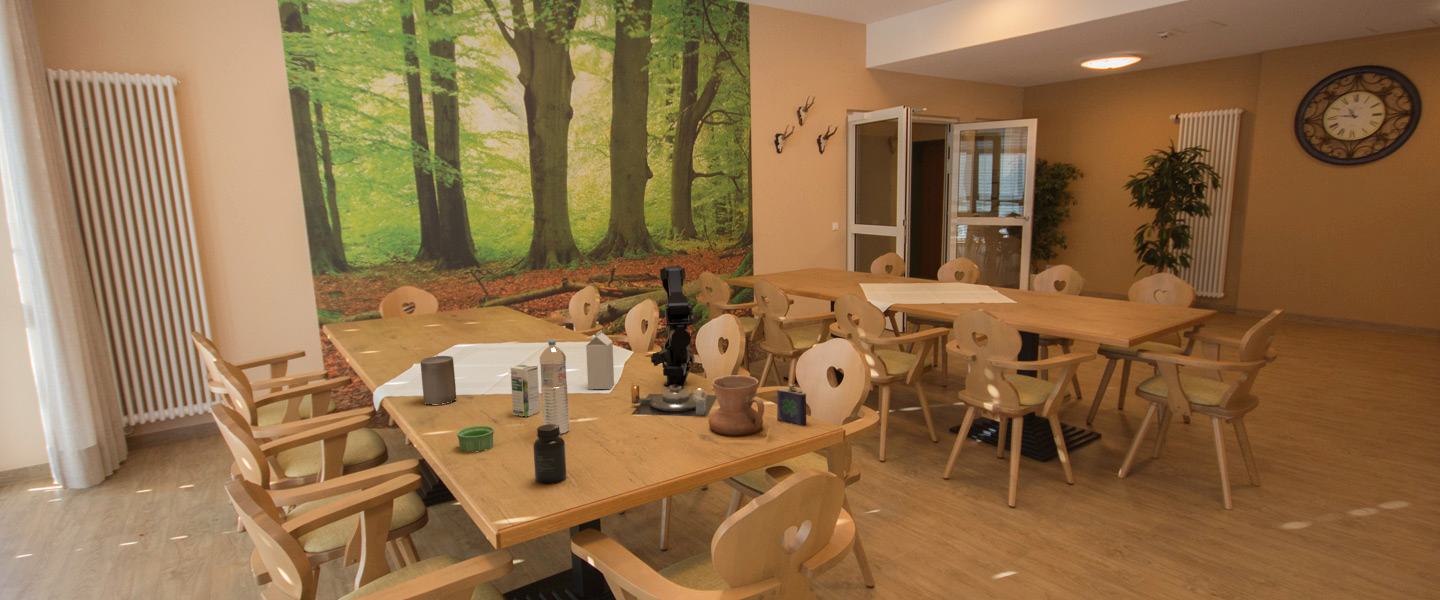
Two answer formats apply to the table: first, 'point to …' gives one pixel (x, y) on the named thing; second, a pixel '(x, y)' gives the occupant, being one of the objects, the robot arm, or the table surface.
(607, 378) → the milk carton
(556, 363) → the water bottle
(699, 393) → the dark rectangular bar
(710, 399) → the base plate
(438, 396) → the pillar candle
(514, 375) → the syrup box
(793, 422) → the flask
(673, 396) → the cover
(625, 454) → the table surface
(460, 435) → the ramekin
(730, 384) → the ceramic jug
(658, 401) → the turntable
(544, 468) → the supplement bottle
